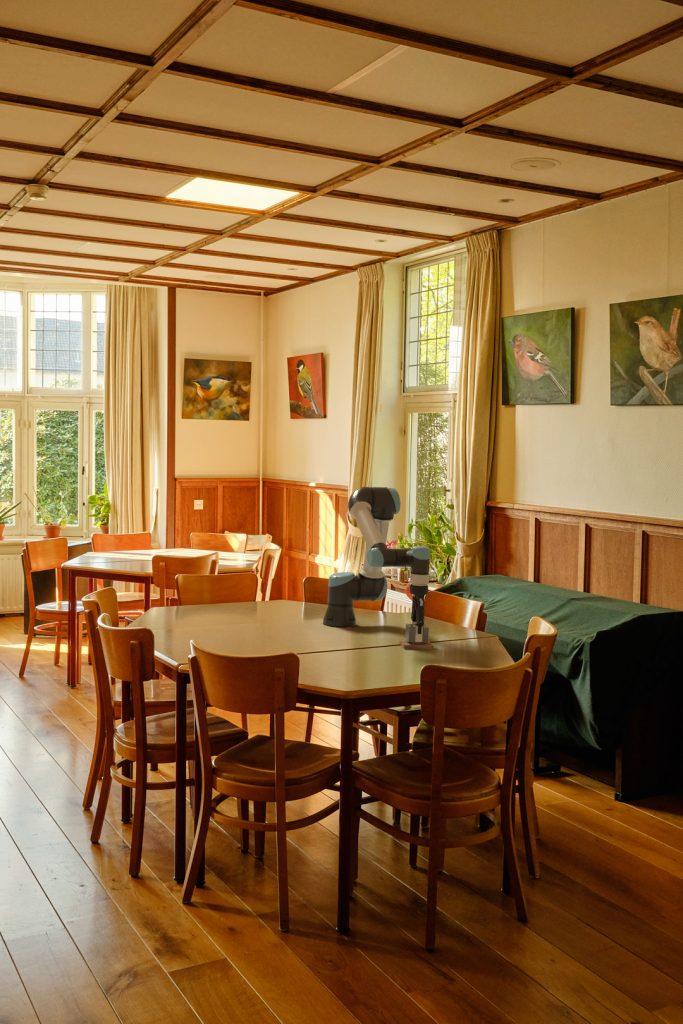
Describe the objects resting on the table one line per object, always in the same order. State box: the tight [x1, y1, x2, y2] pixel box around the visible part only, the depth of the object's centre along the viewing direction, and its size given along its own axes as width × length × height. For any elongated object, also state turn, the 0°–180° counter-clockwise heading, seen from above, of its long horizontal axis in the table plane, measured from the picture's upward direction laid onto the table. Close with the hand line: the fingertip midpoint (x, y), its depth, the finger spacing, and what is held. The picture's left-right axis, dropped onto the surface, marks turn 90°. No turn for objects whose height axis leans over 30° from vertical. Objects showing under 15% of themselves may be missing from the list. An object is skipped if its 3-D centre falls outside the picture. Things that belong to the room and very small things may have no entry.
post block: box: [398, 625, 435, 651], centre depth 408 cm, size 12×12×9 cm
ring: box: [404, 623, 430, 642], centre depth 408 cm, size 8×8×6 cm
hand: (416, 639), depth 409 cm, fingers closed on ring, 8 cm apart
